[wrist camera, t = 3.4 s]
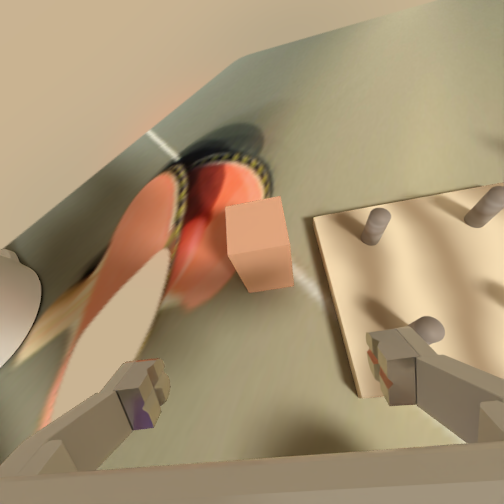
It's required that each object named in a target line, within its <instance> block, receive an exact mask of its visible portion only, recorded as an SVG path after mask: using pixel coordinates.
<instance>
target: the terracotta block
mask: <svg viewBox="0 0 504 504" xmlns="http://www.w3.org/2000/svg"><path fill="white" fill-rule="evenodd" d="M225 214H226V234H227V254H228V257H229V259H230V260H231V262H232V264H233V266H234V267H235V269H236V271H237V273H238V274H239V276H240V278H241V280H242V281H243V283H244V285H245V286H246V288H247V290H248V292H249V293H252V292H259V291H265V290H272V289H278V288H285V287H291V286H294V281H293V271H292V260H291V250H290V242H289V237H288V232H287V227H286V222H285V217H284V212H283V207H282V202H281V197H280V196H278V197H273V198H268V199H263V200H258V201H252V202H247V203H242V204H237V205H232V206H227V207H225Z"/></svg>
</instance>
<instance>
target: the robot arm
mask: <svg viewBox="0 0 504 504" xmlns="http://www.w3.org/2000/svg"><path fill="white" fill-rule="evenodd" d="M40 300H41V284H40V280H39V278H38V276H37V274H36V273H35V272H34V271H33V270H32V269H31V268H29V267H27V266H25V265H23V264H21V263H20V262H19V259H18V257H17V255H16V253H15V252H13V251H10V250H7V249H1V250H0V367H1V366H2V365H3V364H4V363H5V362H6V361H7V360H8V359H9V358H10V357H11V356H12V355H13V354H14V352H15V351H16V350H17V349H18V347H19V346H20V344H21V343H22V342H23V340H24V339H25V337H26V335H27V334H28V332H29V330H30V328H31V327H32V324H33V322H34V320H35V318H36V315H37V312H38V309H39V305H40ZM366 343H367V345H368V346H369V350H368V351H367V358H368V363H369V367H370V370H371V372H372V374H373V376H374V378H375V380H377V381H378V382H380V390H381V391H382V393H383V395H384V397H385V399H386V401H387V402H388V404H389V406H400V405H416V404H417V406H418V407H419V408H421V409H422V410H424V411H425V412H426V413H428V414H429V415H430V416H432V417H433V418H434V419H436V420H437V421H438V422H440V423H441V424H442V425H444V426H445V427H446V428H448V429H449V430H450V431H452V432H453V433H454V434H456V435H457V436H458V437H460V438H461V439H462V440H464V441H465V442H466V443H468V444H454V445H440V446H426V447H413V448H400V449H386V450H373V451H359V452H345V453H330V454H316V455H302V456H288V457H274V458H260V459H246V460H233V461H219V462H205V463H192V464H178V465H164V466H150V467H137V468H123V469H109V470H96V469H97V468H98V467H99V466H100V465H101V464H102V463H103V462H104V461H105V460H106V459H107V458H108V457H109V456H110V455H111V454H112V453H113V452H114V450H115V449H116V448H117V447H118V446H119V445H120V444H121V443H122V442H123V441H124V440H125V439H126V438H127V437H128V436H129V435H130V434H131V433H132V430H139V429H147V428H154V427H155V425H156V422H157V420H158V418H159V416H160V414H161V412H162V411H161V407H160V406H162V405H163V404H164V403H165V402H166V401H167V399H168V396H169V393H170V387H171V386H170V379H169V376H168V375H167V374H166V373H165V372H163V370H164V368H165V365H164V362H163V360H162V359H160V358H157V359H147V360H138V361H129V362H125V363H123V364H122V365H121V366H120V368H119V369H118V370H117V371H116V373H115V374H114V375H113V377H112V378H111V379H110V380H109V381H108V383H107V384H106V385H105V386H104V388H103V389H102V390H101V391H100V392H99V393H95V394H94V395H92V396H91V397H89V398H88V399H86V400H85V401H83V402H82V403H80V404H79V405H77V406H76V407H74V408H73V409H71V410H70V411H68V412H67V413H65V414H64V415H62V416H61V417H59V418H58V419H56V420H55V421H53V422H52V423H50V424H49V425H47V426H46V427H44V428H43V429H41V430H40V431H38V432H36V433H35V434H33V435H32V436H30V437H29V438H27V439H26V440H24V441H23V442H22V443H21V444H20V445H19V446H18V447H17V448H16V449H15V450H14V451H13V452H12V453H11V454H10V456H9V457H8V458H7V459H6V460H5V461H4V462H3V463H2V464H1V465H0V504H504V379H502V378H499V377H497V376H494V375H492V374H490V373H487V372H485V371H482V370H480V369H477V368H475V367H473V366H470V365H468V364H465V363H463V362H460V361H458V360H456V359H453V358H451V357H448V356H446V355H443V354H442V355H438V354H437V353H436V352H435V351H434V350H433V349H432V348H431V347H430V346H429V345H428V344H427V343H426V342H425V341H424V340H423V339H422V338H421V337H420V336H419V335H418V334H417V333H416V332H415V331H414V330H413V329H412V328H411V327H409V326H406V327H399V328H394V329H388V330H381V331H373V332H366Z"/></svg>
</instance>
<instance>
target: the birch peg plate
mask: <svg viewBox="0 0 504 504" xmlns="http://www.w3.org/2000/svg"><path fill="white" fill-rule="evenodd" d="M313 227H314V231H315V235H316V239H317V243H318V246H319V250H320V254H321V258H322V261H323V265H324V269H325V273H326V277H327V280H328V284H329V288H330V292H331V296H332V299H333V303H334V307H335V311H336V315H337V318H338V322H339V326H340V330H341V333H342V337H343V341H344V345H345V349H346V352H347V356H348V360H349V364H350V368H351V371H352V375H353V379H354V383H355V386H356V390H357V394H358V398H372V397H382V396H384V395H383V393H382V391H381V390H380V382H378V381H377V380H375V378H374V376H373V374H372V372H371V370H370V367H369V363H368V358H367V351H368V350H369V346H368V345H367V343H366V332H373V331H381V330H388V329H394V328H399V327H406V326H409V327H411V328H412V329H413V330H414V331H415V332H416V333H417V334H418V335H419V336H420V337H421V338H422V339H423V340H424V341H425V342H426V343H427V344H428V345H429V346H430V347H431V348H432V349H433V350H434V351H435V352H436V353H437V354H438V355H442V354H443V355H446V356H448V357H451V358H453V359H456V360H458V361H460V362H463V363H465V364H468V365H470V366H473V367H475V368H477V369H480V370H482V371H485V372H487V373H490V374H492V375H494V376H497V377H499V378H502V379H504V182H503V183H497V184H492V185H486V186H481V187H476V188H470V189H465V190H459V191H454V192H448V193H443V194H437V195H432V196H426V197H421V198H415V199H410V200H405V201H399V202H394V203H388V204H383V205H377V206H372V207H366V208H361V209H355V210H350V211H344V212H339V213H334V214H328V215H323V216H317V217H313Z"/></svg>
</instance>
